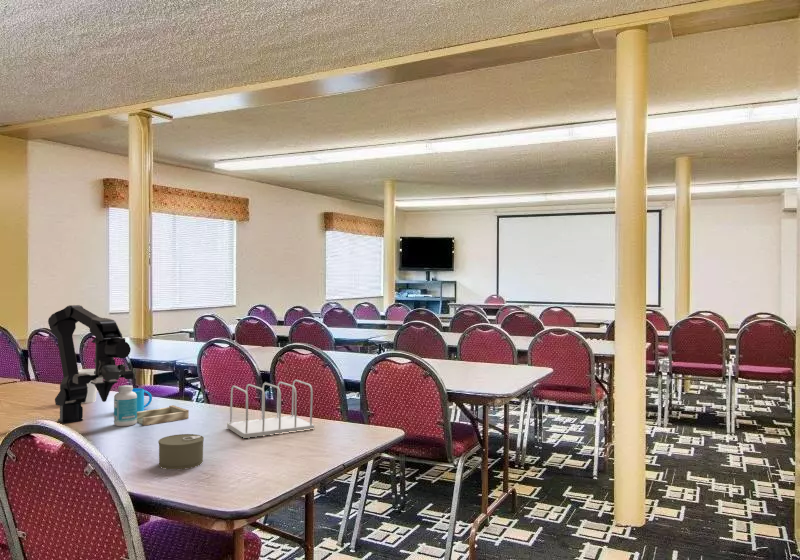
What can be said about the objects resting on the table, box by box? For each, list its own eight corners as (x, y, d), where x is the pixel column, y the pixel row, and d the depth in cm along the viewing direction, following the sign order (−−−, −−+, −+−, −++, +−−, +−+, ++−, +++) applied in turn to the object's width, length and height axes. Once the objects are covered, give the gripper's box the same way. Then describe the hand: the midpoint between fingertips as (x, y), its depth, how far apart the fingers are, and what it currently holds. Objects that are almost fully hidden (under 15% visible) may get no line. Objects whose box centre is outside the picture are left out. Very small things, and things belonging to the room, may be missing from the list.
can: (151, 463, 176) (151, 438, 176) (191, 455, 184) (191, 431, 184) (169, 473, 167) (169, 447, 167) (211, 464, 176) (211, 439, 176)
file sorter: (244, 440, 202) (244, 391, 202) (226, 429, 217) (227, 383, 217) (314, 430, 216) (315, 384, 216) (293, 420, 231) (294, 378, 231)
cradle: (144, 425, 220) (144, 416, 220) (129, 419, 229) (129, 411, 229) (188, 418, 232) (188, 410, 232) (173, 413, 241) (173, 405, 241)
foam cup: (69, 402, 259) (69, 371, 259) (86, 398, 268) (86, 368, 268) (87, 404, 256) (88, 372, 256) (104, 400, 265) (104, 369, 265)
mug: (127, 414, 239) (127, 392, 239) (117, 411, 244) (117, 390, 244) (157, 409, 248) (157, 388, 248) (146, 406, 253) (146, 386, 253)
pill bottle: (141, 422, 225) (141, 385, 224) (127, 427, 217) (127, 388, 217) (123, 421, 227) (124, 384, 227) (109, 426, 219) (109, 387, 219)
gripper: (84, 361, 204) (83, 409, 204) (141, 356, 218) (140, 401, 218) (72, 357, 212) (72, 404, 212) (128, 353, 226) (127, 396, 226)
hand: (104, 401), depth 217 cm, fingers closed
